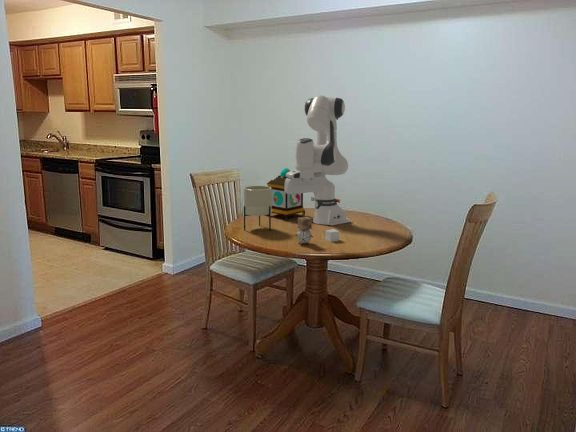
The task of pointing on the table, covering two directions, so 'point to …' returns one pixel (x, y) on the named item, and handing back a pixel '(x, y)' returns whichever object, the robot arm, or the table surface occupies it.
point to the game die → (304, 236)
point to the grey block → (332, 235)
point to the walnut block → (304, 223)
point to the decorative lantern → (284, 197)
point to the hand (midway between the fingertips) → (304, 201)
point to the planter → (258, 202)
